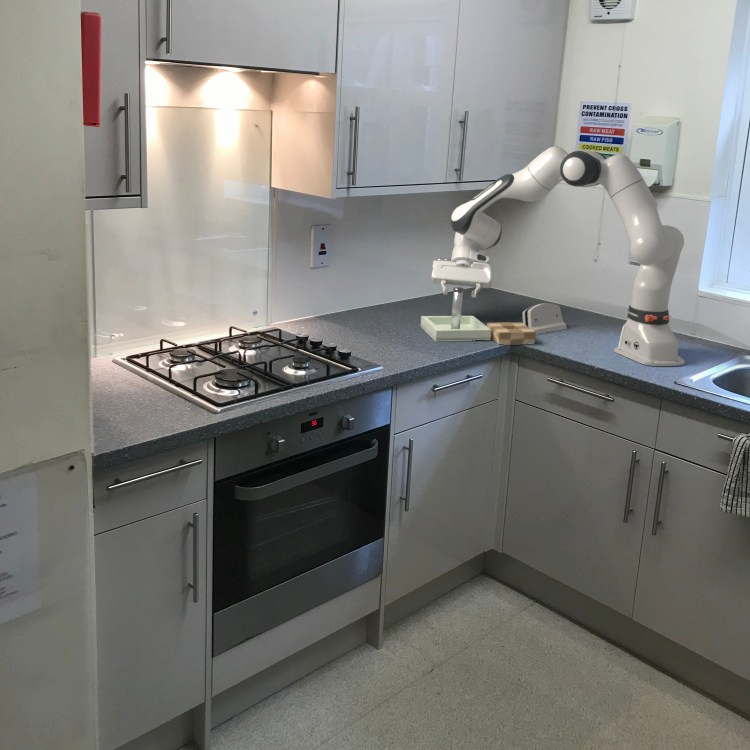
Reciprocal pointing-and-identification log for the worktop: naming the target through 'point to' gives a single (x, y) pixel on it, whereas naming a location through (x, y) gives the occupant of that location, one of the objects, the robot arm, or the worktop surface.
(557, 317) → the grey slotted holder
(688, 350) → the worktop surface
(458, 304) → the steel pin
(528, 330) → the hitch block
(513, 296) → the worktop surface
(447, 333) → the sage tray
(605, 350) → the worktop surface
